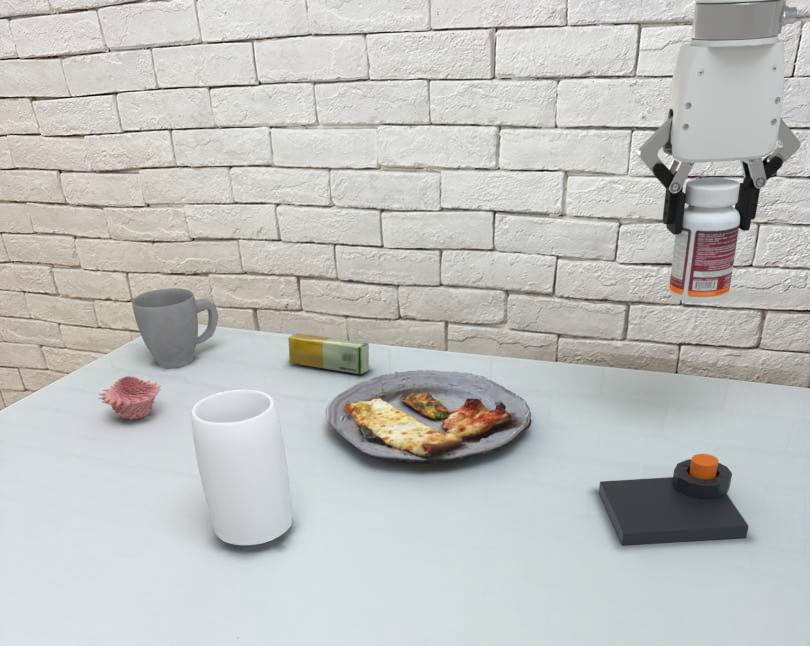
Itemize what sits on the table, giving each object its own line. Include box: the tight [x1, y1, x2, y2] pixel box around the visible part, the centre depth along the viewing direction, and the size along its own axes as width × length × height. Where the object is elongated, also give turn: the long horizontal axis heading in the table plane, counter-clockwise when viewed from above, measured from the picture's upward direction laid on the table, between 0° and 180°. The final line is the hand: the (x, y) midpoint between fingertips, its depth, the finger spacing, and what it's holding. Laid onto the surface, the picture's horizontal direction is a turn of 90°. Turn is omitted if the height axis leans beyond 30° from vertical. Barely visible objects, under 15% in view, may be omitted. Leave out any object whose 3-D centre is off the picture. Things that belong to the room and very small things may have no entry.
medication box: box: [287, 332, 370, 376], centre depth 121 cm, size 12×3×4 cm, turn 65°
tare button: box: [689, 453, 719, 480], centre depth 87 cm, size 3×3×2 cm
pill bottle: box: [668, 177, 740, 304], centre depth 88 cm, size 6×6×11 cm
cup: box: [190, 389, 293, 546], centre depth 83 cm, size 8×8×14 cm
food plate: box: [324, 369, 532, 464], centre depth 104 cm, size 25×23×4 cm
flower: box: [98, 375, 162, 421], centre depth 110 cm, size 8×8×6 cm
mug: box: [131, 287, 219, 369], centre depth 126 cm, size 12×9×10 cm
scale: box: [598, 458, 749, 546], centre depth 86 cm, size 13×11×3 cm
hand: (707, 227), depth 87 cm, fingers closed on pill bottle, 6 cm apart
